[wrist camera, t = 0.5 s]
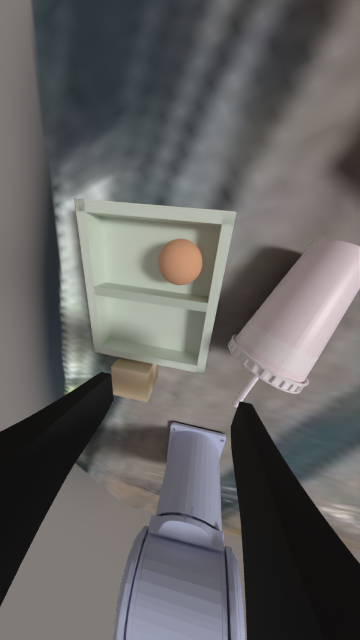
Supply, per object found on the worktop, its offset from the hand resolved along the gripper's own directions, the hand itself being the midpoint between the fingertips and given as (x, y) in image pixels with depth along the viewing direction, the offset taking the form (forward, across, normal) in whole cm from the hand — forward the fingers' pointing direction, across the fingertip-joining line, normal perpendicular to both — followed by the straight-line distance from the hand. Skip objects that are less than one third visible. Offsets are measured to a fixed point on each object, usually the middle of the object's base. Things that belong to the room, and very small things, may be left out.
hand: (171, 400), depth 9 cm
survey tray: (+10, +4, -3) cm, 11 cm away
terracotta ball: (+9, +1, -7) cm, 11 cm away
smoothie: (+7, -10, -9) cm, 15 cm away
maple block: (+10, +5, +6) cm, 13 cm away
